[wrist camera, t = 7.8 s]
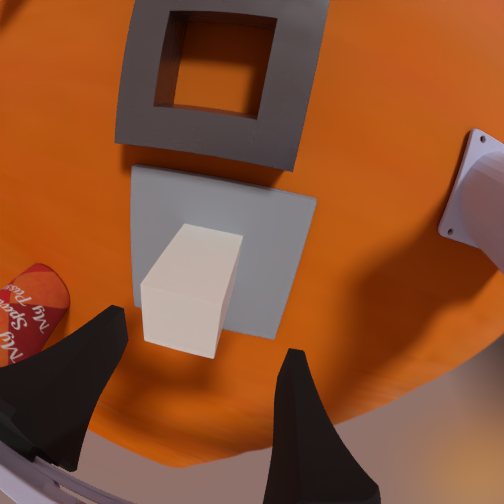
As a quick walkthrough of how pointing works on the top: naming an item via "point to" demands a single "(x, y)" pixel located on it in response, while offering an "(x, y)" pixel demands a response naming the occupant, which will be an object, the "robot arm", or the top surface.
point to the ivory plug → (191, 290)
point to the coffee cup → (30, 312)
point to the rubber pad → (226, 220)
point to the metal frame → (208, 119)
